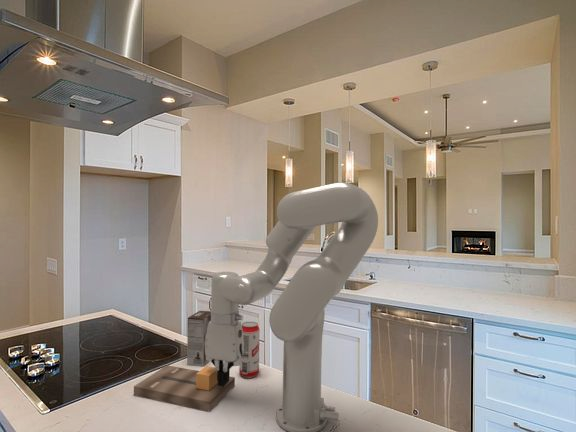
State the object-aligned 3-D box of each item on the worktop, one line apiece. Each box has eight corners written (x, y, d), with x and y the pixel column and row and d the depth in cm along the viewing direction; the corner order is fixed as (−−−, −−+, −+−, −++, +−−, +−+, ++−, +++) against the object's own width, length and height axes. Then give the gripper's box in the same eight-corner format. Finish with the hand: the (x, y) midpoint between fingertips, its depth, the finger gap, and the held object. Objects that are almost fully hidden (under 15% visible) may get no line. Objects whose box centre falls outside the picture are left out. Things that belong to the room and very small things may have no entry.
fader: (218, 382, 94) (218, 368, 94) (208, 390, 89) (209, 375, 89) (205, 379, 95) (206, 365, 95) (196, 388, 90) (196, 373, 90)
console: (234, 385, 97) (234, 377, 97) (209, 411, 84) (209, 401, 84) (166, 373, 105) (166, 364, 105) (133, 395, 91) (133, 385, 91)
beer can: (235, 377, 103) (236, 325, 103) (244, 368, 109) (245, 320, 109) (254, 380, 101) (254, 328, 101) (262, 371, 107) (262, 322, 107)
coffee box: (199, 354, 120) (199, 310, 120) (215, 355, 118) (216, 311, 119) (186, 365, 111) (187, 317, 111) (203, 367, 109) (204, 318, 110)
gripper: (255, 316, 92) (253, 382, 92) (208, 310, 97) (206, 373, 97) (243, 324, 85) (241, 395, 85) (193, 318, 90) (191, 385, 89)
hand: (223, 383), depth 91 cm, fingers closed
